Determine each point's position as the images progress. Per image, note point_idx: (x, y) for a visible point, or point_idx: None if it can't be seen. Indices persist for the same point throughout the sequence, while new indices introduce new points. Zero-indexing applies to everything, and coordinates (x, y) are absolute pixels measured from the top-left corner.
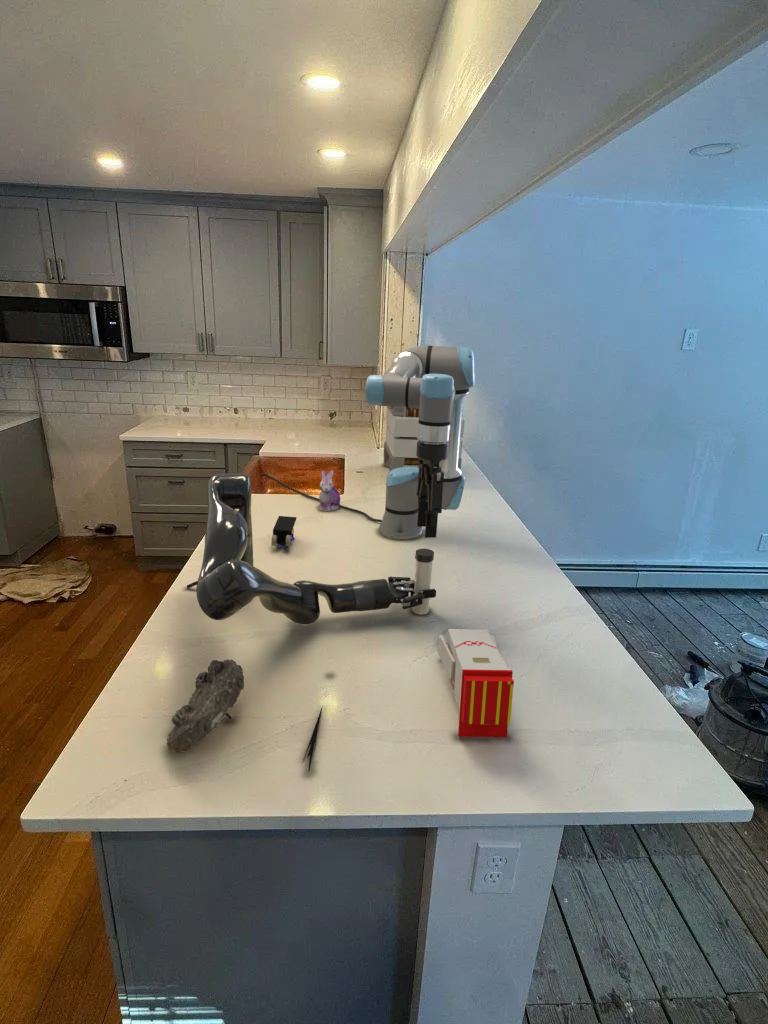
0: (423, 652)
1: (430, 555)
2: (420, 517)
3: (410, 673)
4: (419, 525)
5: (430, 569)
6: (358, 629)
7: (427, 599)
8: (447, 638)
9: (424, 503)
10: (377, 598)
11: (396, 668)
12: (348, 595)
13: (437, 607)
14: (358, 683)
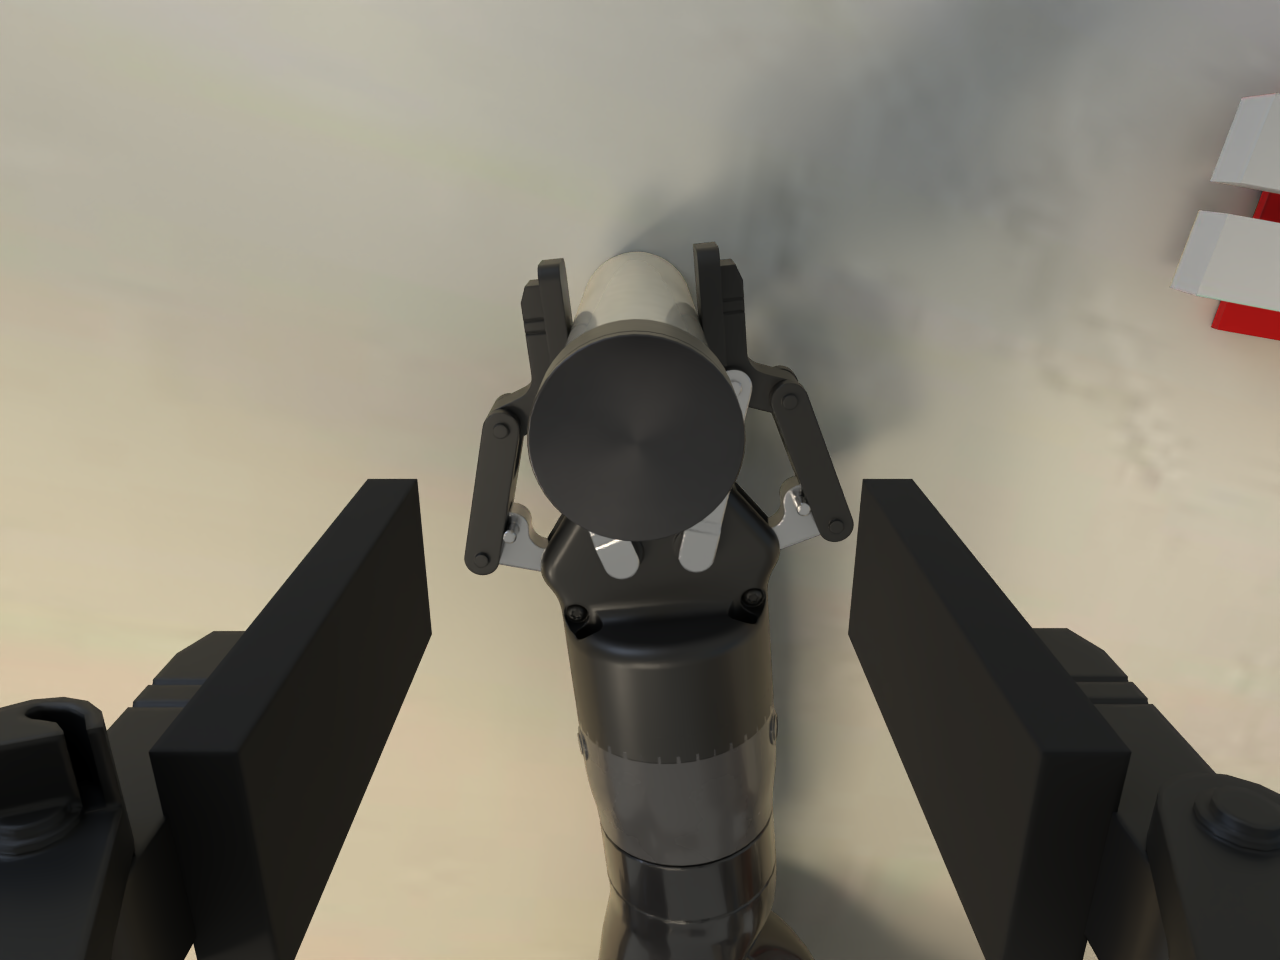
0: (1095, 410)
1: (736, 403)
2: (389, 695)
3: (1246, 520)
4: (426, 621)
5: (702, 342)
6: (789, 689)
7: (690, 297)
8: (1175, 288)
9: (273, 858)
10: (771, 688)
11: (1182, 575)
12: (762, 866)
13: (606, 173)
14: (1226, 746)
